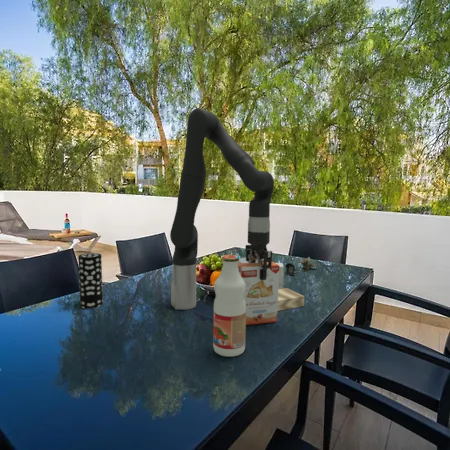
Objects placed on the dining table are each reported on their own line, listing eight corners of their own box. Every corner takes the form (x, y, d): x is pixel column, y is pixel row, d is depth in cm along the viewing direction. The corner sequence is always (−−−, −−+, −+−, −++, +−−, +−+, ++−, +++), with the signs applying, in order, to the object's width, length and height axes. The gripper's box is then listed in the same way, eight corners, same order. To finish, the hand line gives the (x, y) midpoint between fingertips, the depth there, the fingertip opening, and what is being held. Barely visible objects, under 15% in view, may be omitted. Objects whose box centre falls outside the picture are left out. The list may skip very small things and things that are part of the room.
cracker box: (240, 326, 115) (241, 266, 113) (235, 319, 121) (235, 262, 119) (278, 322, 119) (280, 264, 117) (271, 316, 125) (272, 260, 122)
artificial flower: (281, 276, 184) (280, 257, 186) (308, 274, 198) (307, 257, 199) (293, 275, 177) (292, 256, 179) (321, 273, 191) (319, 256, 192)
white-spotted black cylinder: (75, 306, 132) (73, 256, 130) (92, 299, 140) (91, 252, 137) (90, 310, 128) (88, 258, 126) (107, 303, 136) (105, 254, 133)
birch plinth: (268, 312, 128) (268, 302, 128) (252, 302, 139) (252, 293, 138) (304, 305, 136) (304, 296, 135) (286, 296, 146) (286, 287, 146)
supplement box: (282, 289, 157) (283, 262, 155) (283, 294, 149) (284, 266, 148) (266, 288, 157) (266, 262, 156) (266, 293, 150) (267, 266, 148)
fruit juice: (247, 356, 96) (249, 259, 92) (214, 358, 95) (215, 260, 91) (242, 341, 105) (244, 252, 101) (212, 342, 104) (212, 253, 100)
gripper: (239, 227, 121) (238, 273, 123) (260, 233, 108) (259, 284, 110) (257, 226, 124) (256, 271, 126) (280, 232, 111) (278, 281, 113)
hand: (257, 276), depth 118 cm, fingers closed on cracker box, 6 cm apart
